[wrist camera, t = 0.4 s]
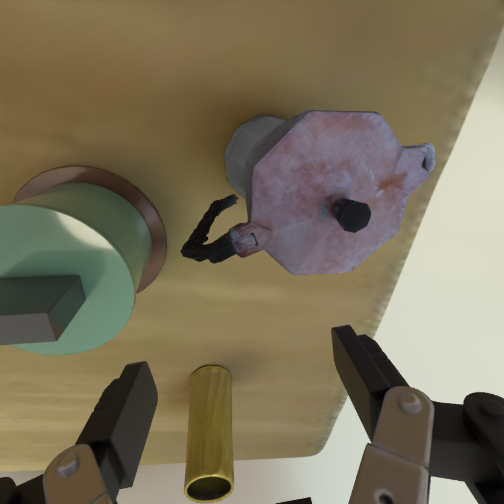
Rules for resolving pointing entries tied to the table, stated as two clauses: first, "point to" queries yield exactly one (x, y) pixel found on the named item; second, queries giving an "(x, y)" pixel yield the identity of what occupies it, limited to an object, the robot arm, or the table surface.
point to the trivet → (118, 186)
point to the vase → (209, 436)
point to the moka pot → (314, 190)
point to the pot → (69, 268)
